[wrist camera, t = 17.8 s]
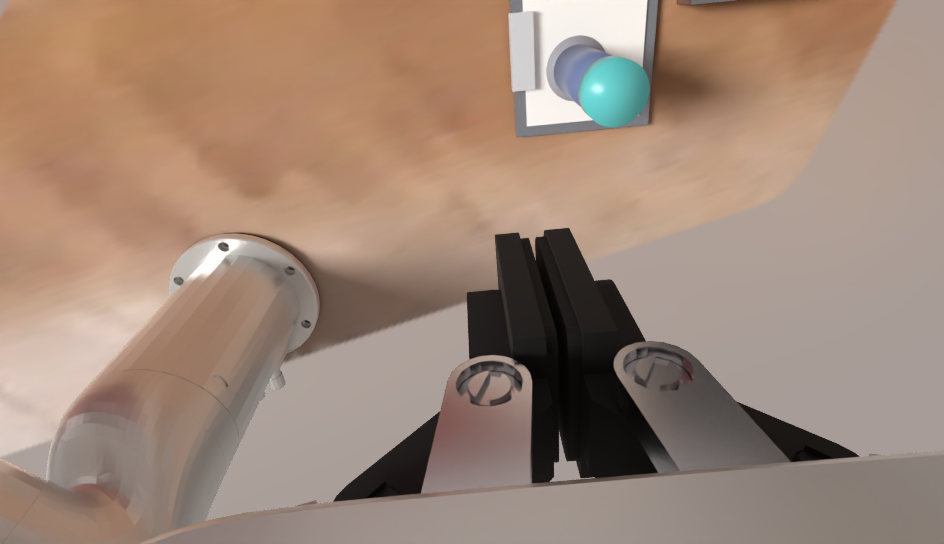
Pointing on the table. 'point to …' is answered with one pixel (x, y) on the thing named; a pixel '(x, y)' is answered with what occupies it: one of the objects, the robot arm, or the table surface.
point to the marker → (602, 84)
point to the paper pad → (551, 32)
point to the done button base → (699, 1)
